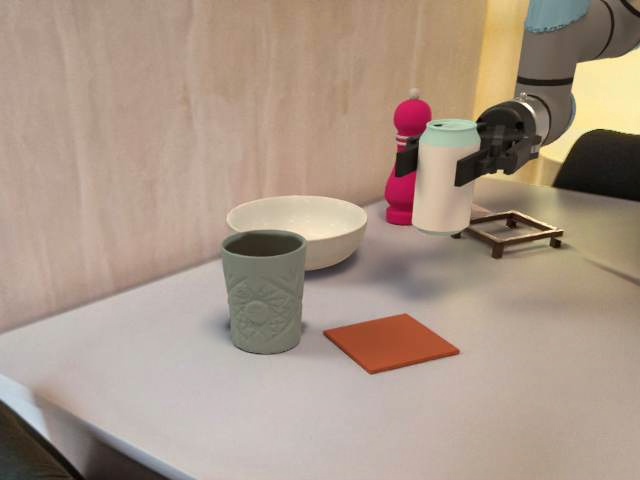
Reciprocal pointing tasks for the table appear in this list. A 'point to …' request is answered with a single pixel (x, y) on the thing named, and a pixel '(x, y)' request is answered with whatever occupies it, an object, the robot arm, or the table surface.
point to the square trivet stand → (500, 243)
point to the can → (443, 177)
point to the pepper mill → (408, 123)
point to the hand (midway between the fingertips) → (427, 169)
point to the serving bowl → (306, 224)
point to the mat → (390, 343)
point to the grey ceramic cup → (265, 288)
